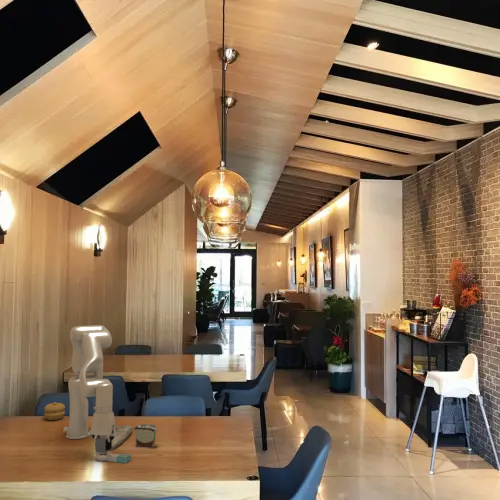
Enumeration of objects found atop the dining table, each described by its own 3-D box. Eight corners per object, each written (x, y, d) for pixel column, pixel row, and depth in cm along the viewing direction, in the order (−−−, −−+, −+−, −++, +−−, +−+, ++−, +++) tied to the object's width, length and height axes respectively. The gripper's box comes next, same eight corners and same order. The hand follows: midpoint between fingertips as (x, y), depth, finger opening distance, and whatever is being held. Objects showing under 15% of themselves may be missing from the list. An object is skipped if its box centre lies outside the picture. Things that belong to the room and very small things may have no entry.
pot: (49, 416, 309) (50, 399, 310) (68, 416, 308) (68, 400, 309) (40, 421, 298) (40, 404, 298) (59, 422, 296) (59, 404, 297)
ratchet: (92, 461, 232) (92, 445, 232) (100, 455, 238) (100, 440, 239) (124, 464, 227) (124, 448, 228) (132, 459, 234) (132, 443, 235)
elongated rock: (96, 453, 246) (116, 455, 246) (97, 443, 246) (117, 444, 246) (118, 429, 281) (136, 430, 281) (118, 419, 281) (136, 420, 281)
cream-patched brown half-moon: (161, 445, 254) (161, 424, 255) (155, 448, 248) (155, 428, 249) (140, 442, 258) (140, 422, 259) (133, 446, 252) (133, 425, 253)
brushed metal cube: (95, 451, 233) (95, 438, 233) (101, 448, 238) (101, 435, 238) (105, 452, 231) (105, 439, 232) (111, 449, 236) (111, 436, 237)
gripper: (83, 410, 234) (82, 450, 233) (116, 412, 230) (115, 453, 229) (92, 406, 241) (91, 445, 240) (124, 408, 237) (123, 448, 236)
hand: (103, 449), depth 234 cm, fingers closed on brushed metal cube, 5 cm apart
